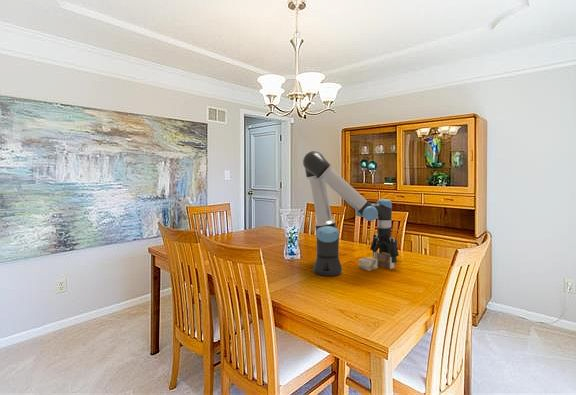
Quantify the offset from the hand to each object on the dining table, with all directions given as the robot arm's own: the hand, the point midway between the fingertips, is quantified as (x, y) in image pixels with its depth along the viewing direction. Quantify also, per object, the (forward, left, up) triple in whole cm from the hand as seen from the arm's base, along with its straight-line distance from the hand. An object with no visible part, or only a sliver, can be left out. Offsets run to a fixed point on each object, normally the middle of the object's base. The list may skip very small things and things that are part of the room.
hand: (383, 265), depth 182 cm
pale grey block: (-10, +2, 0) cm, 10 cm away
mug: (+12, +7, 0) cm, 14 cm away
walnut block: (0, 0, 0) cm, 0 cm away
